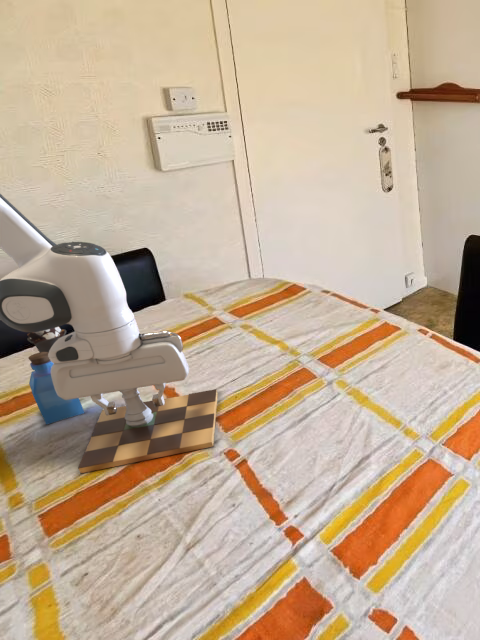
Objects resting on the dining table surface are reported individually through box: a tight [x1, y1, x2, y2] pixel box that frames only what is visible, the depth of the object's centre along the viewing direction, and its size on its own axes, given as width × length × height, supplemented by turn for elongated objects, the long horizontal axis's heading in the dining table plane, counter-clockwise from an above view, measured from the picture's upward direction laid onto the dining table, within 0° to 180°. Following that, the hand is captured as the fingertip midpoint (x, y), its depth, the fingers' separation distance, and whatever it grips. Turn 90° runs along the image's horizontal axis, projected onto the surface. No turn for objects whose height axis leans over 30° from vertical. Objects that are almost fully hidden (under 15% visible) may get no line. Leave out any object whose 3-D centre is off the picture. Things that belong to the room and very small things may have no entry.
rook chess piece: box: [119, 388, 153, 427], centre depth 111 cm, size 4×4×8 cm
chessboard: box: [77, 388, 219, 474], centre depth 112 cm, size 20×20×1 cm
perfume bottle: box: [28, 352, 85, 426], centre depth 116 cm, size 6×6×12 cm
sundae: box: [26, 326, 67, 353], centre depth 127 cm, size 7×7×15 cm
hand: (136, 408), depth 112 cm, fingers open, 6 cm apart
